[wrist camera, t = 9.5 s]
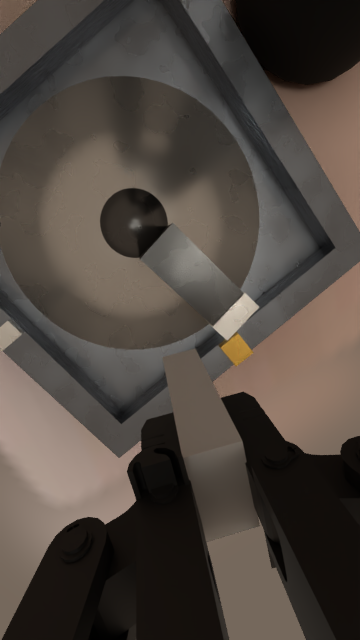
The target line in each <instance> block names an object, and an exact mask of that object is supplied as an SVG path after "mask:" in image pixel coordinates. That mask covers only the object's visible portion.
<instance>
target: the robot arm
mask: <svg viewBox="0 0 360 640" xmlns="http://www.w3.org/2000/svg"><path fill="white" fill-rule="evenodd" d="M162 359H163V363H164V368H165V373H166V378H167V383H168V388H169V393H170V398H171V403H172V408H173V412H172V413H169V414H165V415H162V416H158V417H154V418H151V419H147V420H146V422H145V424H144V425H143V427H142V429H141V441H142V442H141V449H142V451H141V452H140V453H139V454H137V455H136V456H135V457H134V458H133V460H132V461H131V462H130V464H129V467H128V470H127V473H128V476H129V479H130V482H131V485H132V488H133V491H134V494H135V497H136V502H135V503H134V505H132V506H131V507H130V508H129V509H128V510H127V511H126V512H125V513H124V514H122V515H120V516H119V517H117V518H116V519H114V520H112V521H111V522H109V523H107V524H106V525H105V524H104V523H103V522H102V521H101V520H99V519H98V518H93V517H87V518H82V519H79V520H76V521H74V522H73V523H71V524H69V525H67V526H66V527H65V528H64V529H63V530H62V531H60V533H58V534H57V535H56V536H55V538H54V539H53V541H52V542H51V544H50V545H49V547H48V549H47V551H46V553H45V555H44V557H43V559H42V561H41V563H40V565H39V567H38V569H37V571H36V573H35V575H34V577H33V579H32V580H31V582H30V584H29V587H28V589H27V590H26V592H25V594H24V596H23V599H22V600H21V602H20V604H19V606H18V608H17V610H16V613H15V614H14V616H13V618H12V620H11V622H10V624H9V626H8V628H7V630H6V632H5V634H4V636H3V638H2V640H229V637H228V633H227V628H226V624H225V619H224V615H223V610H222V606H221V602H220V597H219V593H218V589H217V584H216V580H215V575H214V571H213V567H212V563H211V559H210V555H209V551H208V548H207V543H206V542H209V541H212V540H215V539H219V538H222V537H225V536H228V535H232V534H235V533H238V532H241V531H245V530H248V529H251V528H255V527H258V526H260V525H259V520H258V517H259V519H260V521H261V524H262V526H263V529H264V532H265V537H266V542H267V547H268V552H269V557H270V562H271V567H272V568H275V567H276V568H277V571H278V573H279V575H280V578H281V580H282V583H283V585H284V588H285V590H286V592H287V595H288V597H289V600H290V602H291V604H292V607H293V609H294V612H295V614H296V617H297V619H298V621H299V624H300V626H301V629H302V631H303V633H304V636H305V638H306V640H360V436H357V437H354V438H351V439H348V440H347V441H346V442H345V443H344V444H342V448H341V451H340V452H341V455H311V454H306V453H304V452H303V451H302V450H301V449H300V448H299V447H298V446H297V445H295V444H293V443H290V442H287V441H285V440H284V438H283V437H282V436H281V434H280V433H279V431H278V430H277V428H276V427H275V426H274V424H273V423H272V422H271V420H270V419H269V417H268V416H267V415H266V414H265V412H264V410H263V409H262V408H261V407H260V405H259V403H258V402H257V401H256V399H255V398H254V397H252V396H251V395H249V394H247V393H245V392H241V393H237V394H233V395H230V396H226V397H223V398H220V396H219V394H218V392H217V390H216V388H215V386H214V384H213V382H212V380H211V378H210V376H209V374H208V372H207V370H206V368H205V367H204V365H203V363H202V361H201V359H200V357H199V355H198V353H197V351H196V349H191V350H188V351H184V352H180V353H176V354H172V355H169V356H165V357H162Z"/></svg>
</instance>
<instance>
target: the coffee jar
mask: <svg viewBox="0 0 360 640" xmlns="http://www.w3.org/2000/svg"><path fill="white" fill-rule="evenodd" d="M236 6H237V14H238V21H239V25H240V28H241V30H242V32H243V35H244V37H245V40H246V42H247V44H248V45H249V47H250V49H251V51H252V52H253V54H254V55H255V57H256V58H257V59H258V60H259V62H260V63H261V64H262V65H263V67H264V68H266V69H267V70H269V71H270V72H272V73H273V74H275V75H277V76H278V77H280V78H281V79H283V80H285V81H290V82H295V83H300V84H305V85H308V84H314V83H319V82H324V81H330V80H332V79H334V78H335V77H337V76H339V75H340V74H342V73H344V72H345V71H347V70H349V69H350V68H352V67H353V66H354V65H355V64H357V63H358V62H359V61H360V0H236Z"/></svg>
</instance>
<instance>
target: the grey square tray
mask: <svg viewBox="0 0 360 640" xmlns="http://www.w3.org/2000/svg"><path fill="white" fill-rule="evenodd" d="M111 76H131V77H140V78H147V79H150V80H154V81H158V82H162V83H165V84H167V85H170V86H172V87H174V88H177V89H179V90H181V91H183V92H185V93H186V94H188V95H190V96H191V97H193V98H195V99H197V100H198V101H199V102H200V103H202V104H203V105H204V106H205V107H207V108H208V109H209V110H211V111H212V112H213V113H214V114H215V115H216V116H217V117H218V118H219V119H220V120H221V122H222V123H223V124H224V125H225V126H226V127H227V129H228V130H229V131H230V133H231V134H232V135H233V137H234V138H235V139H236V141H237V143H238V144H239V146H240V148H241V150H242V151H243V153H244V155H245V157H246V160H247V162H248V164H249V167H250V169H251V172H252V175H253V179H254V182H255V186H256V190H257V196H258V203H259V222H260V223H259V235H258V242H257V247H256V252H255V256H254V259H253V262H252V265H251V268H250V271H249V273H248V275H247V277H246V279H245V281H244V283H243V285H242V287H241V289H240V290H241V291H242V292H244V293H246V294H247V295H248V296H249V297H250V298H251V299H252V300H253V301H254V302H255V303H256V304H257V305H258V306H259V308H258V309H257V310H256V311H255V312H254V313H253V314H252V315H251V316H250V318H249V319H248V320H247V321H246V322H245V323H244V324H243V325H242V326H241V327H240V328H239V329H238V330H237V331H236V332H235V333H234V334H233V335H232V336H231V337H230V338H229V340H228V341H227V340H226V339H225V338H224V337H223V336H222V335H220V334H219V333H218V332H217V331H216V330H215V329H214V328H213V327H212V326H211V325H210V324H208V325H207V326H205V327H204V328H203V329H201V330H200V331H198V332H196V333H194V334H193V335H191V336H189V337H187V338H185V339H182V340H180V341H177V342H175V343H172V344H169V345H165V346H161V347H157V348H149V349H141V350H125V349H116V348H109V347H105V346H101V345H97V344H93V343H91V342H88V341H85V340H83V339H80V338H78V337H76V336H74V335H72V334H70V333H68V332H66V331H64V330H63V329H62V328H60V327H59V326H57V325H56V324H54V323H53V322H51V321H50V320H49V319H48V318H47V317H45V316H44V315H43V314H42V313H41V312H40V311H39V310H38V309H37V308H36V307H35V306H34V305H33V304H32V303H31V302H30V300H29V299H28V298H27V297H26V296H25V295H24V293H23V292H22V290H21V289H20V287H19V286H18V284H17V283H16V281H15V280H14V278H13V276H12V274H11V272H10V270H9V268H8V266H7V264H6V261H5V258H4V256H3V253H2V250H1V247H0V351H1V352H2V351H3V352H4V353H5V354H6V355H8V356H9V357H10V358H11V359H12V360H13V361H14V362H15V363H16V364H17V365H18V366H19V367H21V368H22V369H23V370H24V371H25V372H26V373H27V374H28V375H29V376H30V377H31V378H33V379H34V380H35V381H36V382H37V383H38V384H39V385H40V386H41V387H42V388H43V389H45V390H46V391H47V392H48V393H49V394H50V395H51V396H52V397H53V398H54V399H55V400H56V401H58V402H59V403H60V404H61V405H62V406H63V407H64V408H65V409H66V410H67V411H68V412H70V413H71V414H72V415H73V416H74V417H75V418H76V419H77V420H78V421H79V422H80V423H81V424H83V425H84V426H85V427H86V428H87V429H88V430H89V431H90V432H91V433H92V434H93V435H95V436H96V437H97V438H98V439H99V440H100V441H101V442H102V443H103V444H104V445H105V446H107V447H108V448H109V449H110V450H111V451H112V452H113V453H114V454H115V455H116V456H117V457H118V458H120V457H121V456H122V455H123V454H125V453H126V452H127V451H128V450H130V449H131V448H132V447H133V446H134V445H136V444H137V443H138V442H139V441H141V429H142V427H143V425H144V424H145V422H146V420H147V419H151V418H154V417H158V416H162V415H165V414H169V413H172V412H173V408H172V403H171V398H170V393H169V388H168V383H167V378H166V373H165V368H164V363H163V359H162V357H165V356H169V355H172V354H176V353H180V352H184V351H188V350H191V349H196V351H197V353H198V355H199V357H200V359H201V361H202V363H203V365H204V367H205V368H206V370H207V372H208V374H209V376H210V378H211V380H212V382H213V381H214V380H215V379H216V378H218V377H219V376H220V375H221V374H223V373H224V372H225V371H226V370H227V369H229V368H230V367H231V366H232V365H235V366H237V365H239V364H240V363H241V362H242V361H244V360H245V359H246V358H247V357H249V356H250V355H251V354H252V353H253V351H252V349H253V348H254V347H256V346H257V345H258V344H259V343H260V342H262V341H263V340H264V339H265V338H267V337H268V336H269V335H270V334H271V333H273V332H274V331H275V330H276V329H278V328H279V327H280V326H281V325H283V324H284V323H285V322H286V321H287V320H289V319H290V318H291V317H292V316H294V315H295V314H296V313H297V312H298V311H300V310H301V309H302V308H303V307H305V306H306V305H307V304H308V303H309V302H311V301H312V300H313V299H314V298H316V297H317V296H318V295H319V294H320V293H322V292H323V291H324V290H325V289H327V288H328V287H329V286H330V285H331V284H333V283H334V282H335V281H336V280H338V279H339V278H340V277H341V276H342V275H344V274H345V273H346V272H347V271H349V270H350V269H351V268H352V267H353V266H355V265H356V264H357V263H358V262H360V232H359V230H358V228H357V227H356V225H355V223H354V222H353V220H352V218H351V217H350V215H349V213H348V212H347V210H346V208H345V207H344V205H343V203H342V201H341V200H340V198H339V196H338V195H337V193H336V191H335V190H334V188H333V186H332V185H331V183H330V181H329V180H328V178H327V176H326V175H325V173H324V171H323V170H322V168H321V166H320V165H319V163H318V161H317V160H316V158H315V156H314V155H313V153H312V151H311V149H310V148H309V146H308V144H307V143H306V141H305V139H304V138H303V136H302V134H301V133H300V131H299V129H298V128H297V126H296V124H295V123H294V121H293V119H292V118H291V116H290V114H289V113H288V111H287V109H286V108H285V106H284V104H283V103H282V101H281V99H280V97H279V96H278V94H277V92H276V91H275V89H274V87H273V86H272V84H271V82H270V81H269V79H268V77H267V76H266V74H265V72H264V71H263V69H262V67H261V66H260V64H259V62H258V61H257V59H256V57H255V56H254V54H253V52H252V51H251V49H250V47H249V45H248V44H247V42H246V40H245V39H244V37H243V35H242V34H241V32H240V30H239V29H238V27H237V25H236V24H235V22H234V20H233V19H232V17H231V15H230V14H229V12H228V10H227V9H226V7H225V5H224V4H223V2H222V0H37V1H36V2H35V3H34V4H33V5H32V6H31V7H30V8H29V9H28V10H26V11H25V12H24V13H23V14H22V15H21V16H20V17H19V18H18V19H17V20H16V21H14V22H13V23H12V24H11V25H10V26H9V27H8V28H7V29H6V30H5V31H3V32H2V33H1V34H0V167H1V164H2V161H3V158H4V155H5V153H6V151H7V149H8V147H9V145H10V143H11V141H12V139H13V137H14V136H15V134H16V133H17V131H18V130H19V129H20V127H21V126H22V124H23V123H24V121H25V120H26V119H27V118H28V117H29V116H30V115H31V114H32V113H33V112H34V111H35V110H36V109H37V108H38V107H39V106H40V105H42V104H43V103H44V102H46V101H47V100H48V99H50V98H51V97H52V96H54V95H56V94H57V93H59V92H61V91H63V90H65V89H67V88H68V87H70V86H73V85H76V84H79V83H82V82H84V81H87V80H92V79H97V78H102V77H111Z"/></svg>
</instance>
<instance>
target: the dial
mask: <svg viewBox="0 0 360 640" xmlns="http://www.w3.org/2000/svg"><path fill="white" fill-rule="evenodd" d="M259 223H260V222H259V203H258V196H257V190H256V186H255V182H254V179H253V175H252V172H251V169H250V167H249V164H248V162H247V160H246V157H245V155H244V153H243V151H242V150H241V148H240V146H239V144H238V143H237V141H236V139H235V138H234V137H233V135H232V134H231V133H230V131H229V130H228V129H227V127H226V126H225V125H224V124H223V123H222V122H221V120H220V119H219V118H218V117H217V116H216V115H215V114H214V113H213V112H212V111H211V110H209V109H208V108H207V107H205V106H204V105H203V104H202V103H200V102H199V101H198V100H197V99H195V98H193V97H191V96H190V95H188V94H186V93H185V92H183V91H181V90H179V89H177V88H174V87H172V86H170V85H167V84H165V83H162V82H158V81H154V80H150V79H147V78H140V77H131V76H111V77H102V78H97V79H92V80H87V81H84V82H82V83H79V84H76V85H73V86H70V87H68V88H67V89H65V90H63V91H61V92H59V93H57V94H56V95H54V96H52V97H51V98H50V99H48V100H47V101H46V102H44V103H43V104H42V105H40V106H39V107H38V108H37V109H36V110H35V111H34V112H33V113H32V114H31V115H30V116H29V117H28V118H27V119H26V120H25V121H24V123H23V124H22V126H21V127H20V129H19V130H18V131H17V133H16V134H15V136H14V137H13V139H12V141H11V143H10V145H9V147H8V149H7V151H6V153H5V155H4V158H3V161H2V164H1V167H0V247H1V250H2V253H3V256H4V258H5V261H6V264H7V266H8V268H9V270H10V272H11V274H12V276H13V278H14V280H15V281H16V283H17V284H18V286H19V287H20V289H21V290H22V292H23V293H24V295H25V296H26V297H27V298H28V299H29V300H30V302H31V303H32V304H33V305H34V306H35V307H36V308H37V309H38V310H39V311H40V312H41V313H42V314H43V315H44V316H45V317H47V318H48V319H49V320H50V321H51V322H53V323H54V324H56V325H57V326H59V327H60V328H62V329H63V330H64V331H66V332H68V333H70V334H72V335H74V336H76V337H78V338H80V339H83V340H85V341H88V342H91V343H93V344H97V345H101V346H105V347H109V348H116V349H125V350H141V349H149V348H157V347H161V346H165V345H169V344H172V343H175V342H177V341H180V340H182V339H185V338H187V337H189V336H191V335H193V334H194V333H196V332H198V331H200V330H201V329H203V328H204V327H205V326H207V325H208V324H210V325H211V326H212V327H213V328H214V329H215V330H216V331H217V332H218V333H219V334H220V335H222V336H223V337H224V338H225V339H226V340H227V341H228V340H229V338H230V337H231V336H232V335H233V334H234V333H235V332H236V331H237V330H238V329H239V328H240V327H241V326H242V325H243V324H244V323H245V322H246V321H247V320H248V319H249V318H250V316H251V315H252V314H253V313H254V312H255V311H256V310H257V309H258V308H259V306H258V305H257V304H256V303H255V302H254V301H253V300H252V299H251V298H250V297H249V296H248V295H247V294H246V293H244V292H242V291H241V290H240V289H241V287H242V285H243V283H244V281H245V279H246V277H247V275H248V273H249V271H250V268H251V265H252V262H253V259H254V256H255V252H256V247H257V242H258V235H259Z"/></svg>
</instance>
